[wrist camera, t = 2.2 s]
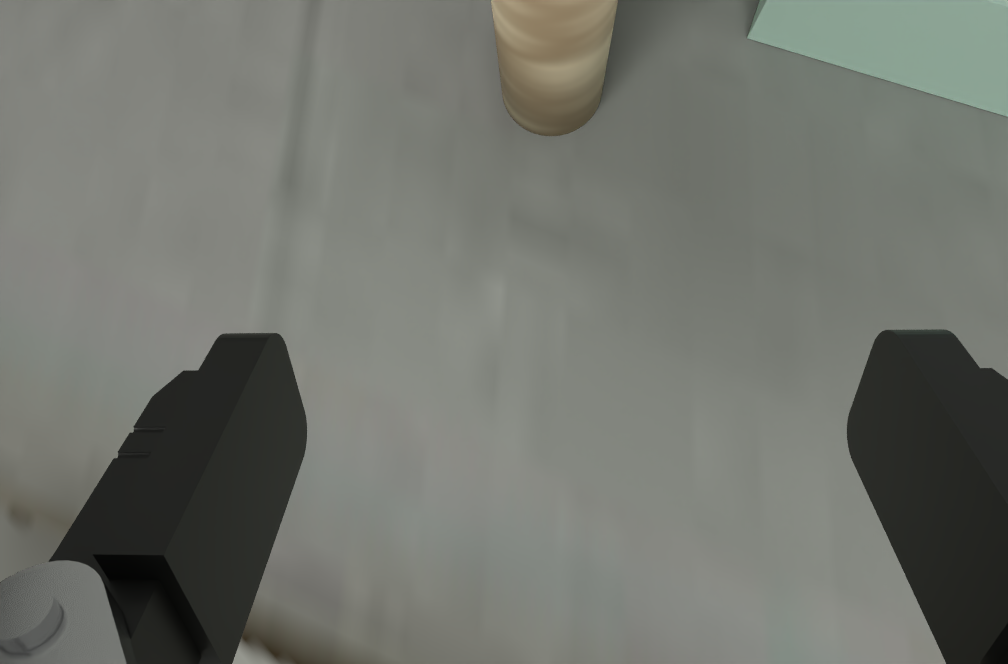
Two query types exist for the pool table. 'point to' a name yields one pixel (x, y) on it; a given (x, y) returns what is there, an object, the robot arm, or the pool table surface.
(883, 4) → the socket block
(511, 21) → the pin
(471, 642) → the pool table surface
